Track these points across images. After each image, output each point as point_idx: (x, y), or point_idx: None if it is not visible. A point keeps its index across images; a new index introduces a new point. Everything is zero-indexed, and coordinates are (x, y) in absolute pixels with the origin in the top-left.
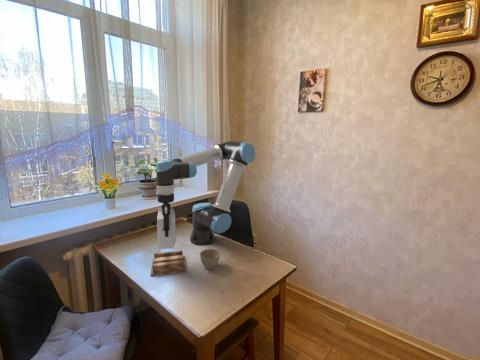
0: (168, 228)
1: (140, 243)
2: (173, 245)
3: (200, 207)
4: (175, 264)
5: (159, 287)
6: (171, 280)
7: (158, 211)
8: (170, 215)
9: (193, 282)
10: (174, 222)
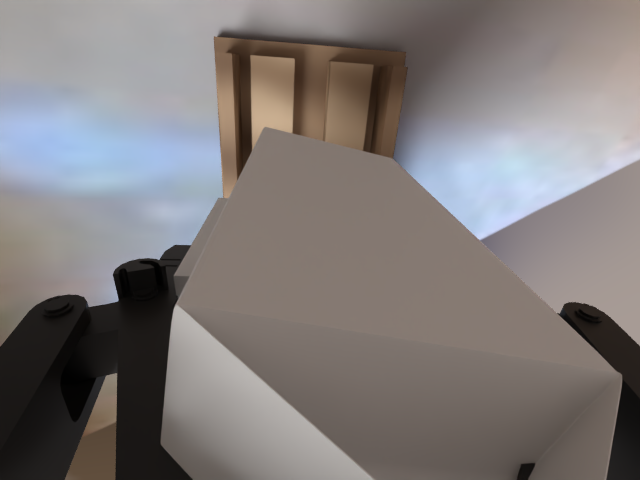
0: (613, 335)
1: (4, 301)
2: (389, 161)
3: None
4: (396, 124)
5: (475, 201)
6: (448, 145)
7: None
8: None
9: (525, 20)
10: (326, 227)
